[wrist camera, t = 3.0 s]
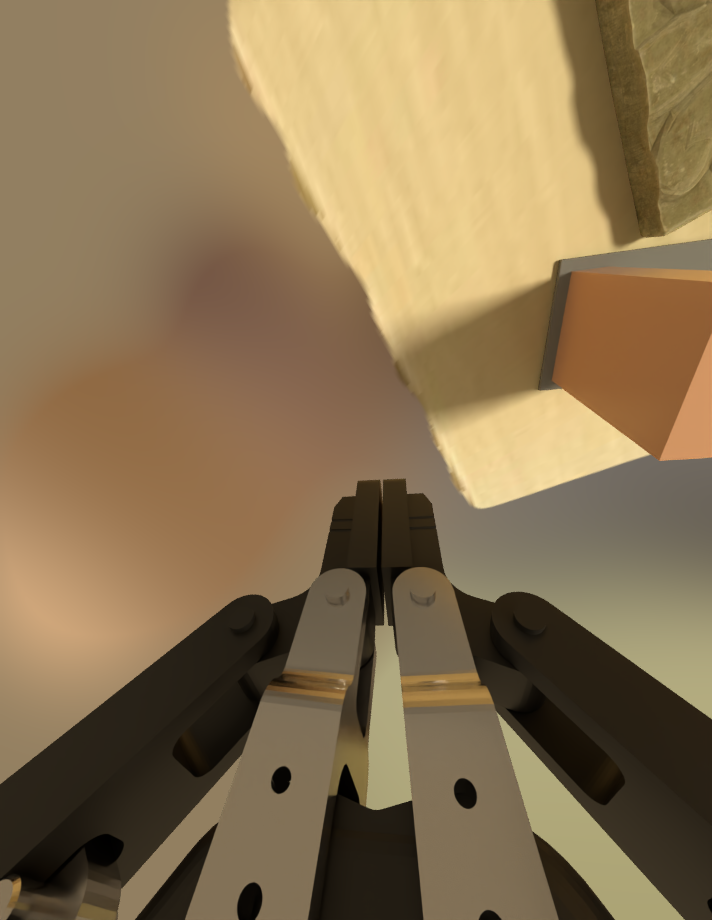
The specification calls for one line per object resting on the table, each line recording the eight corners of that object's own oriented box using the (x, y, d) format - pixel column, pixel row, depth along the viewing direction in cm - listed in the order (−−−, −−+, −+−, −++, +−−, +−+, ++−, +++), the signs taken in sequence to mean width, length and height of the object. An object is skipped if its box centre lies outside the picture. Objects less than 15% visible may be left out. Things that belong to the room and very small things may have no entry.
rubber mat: (559, 259, 29) (561, 260, 29) (839, 221, 26) (845, 220, 26) (538, 389, 35) (539, 390, 35) (763, 369, 33) (767, 370, 32)
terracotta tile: (571, 271, 29) (731, 283, 16) (609, 266, 29) (808, 273, 15) (551, 380, 34) (659, 460, 21) (583, 377, 34) (714, 457, 20)
